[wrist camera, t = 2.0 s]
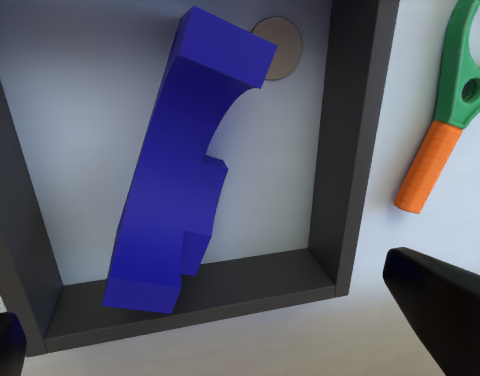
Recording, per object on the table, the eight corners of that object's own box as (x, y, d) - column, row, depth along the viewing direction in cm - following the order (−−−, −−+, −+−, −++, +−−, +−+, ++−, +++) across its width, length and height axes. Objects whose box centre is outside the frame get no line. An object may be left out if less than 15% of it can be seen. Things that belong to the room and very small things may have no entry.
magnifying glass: (485, -60, 17) (517, -70, 15) (553, -14, 19) (587, -19, 17) (362, 194, 22) (377, 205, 20) (426, 209, 24) (444, 220, 22)
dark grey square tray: (49, 301, 20) (26, 358, 16) (-74, -61, 12) (-168, -104, 9) (319, 257, 23) (348, 295, 20) (354, -40, 16) (411, -63, 12)
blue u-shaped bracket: (190, 245, 20) (202, 317, 15) (116, 231, 19) (101, 305, 13) (263, 56, 17) (314, 63, 11) (180, 18, 15) (193, 5, 10)
